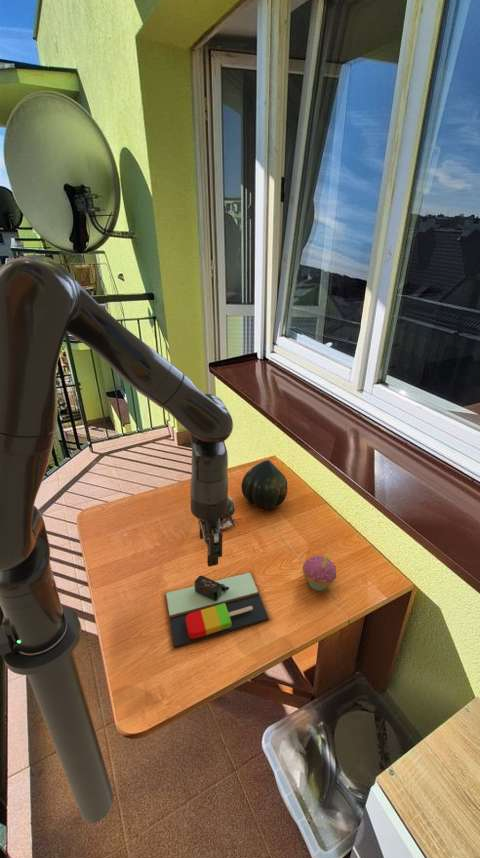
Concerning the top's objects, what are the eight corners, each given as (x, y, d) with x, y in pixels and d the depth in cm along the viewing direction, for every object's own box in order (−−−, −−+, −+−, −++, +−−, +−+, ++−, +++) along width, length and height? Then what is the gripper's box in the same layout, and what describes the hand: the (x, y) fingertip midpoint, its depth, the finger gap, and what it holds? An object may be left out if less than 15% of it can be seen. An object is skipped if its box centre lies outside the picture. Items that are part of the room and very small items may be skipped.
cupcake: (340, 589, 96) (348, 554, 90) (312, 602, 92) (319, 566, 86) (321, 565, 102) (327, 532, 97) (294, 576, 98) (299, 541, 93)
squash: (254, 510, 112) (281, 467, 113) (225, 488, 122) (251, 448, 123) (279, 521, 123) (304, 482, 124) (251, 500, 132) (274, 464, 134)
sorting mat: (174, 648, 79) (174, 645, 78) (166, 594, 90) (165, 591, 90) (268, 619, 86) (268, 617, 86) (250, 573, 98) (250, 571, 97)
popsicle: (184, 619, 84) (184, 613, 83) (248, 600, 90) (248, 595, 89) (189, 641, 80) (189, 635, 79) (256, 620, 85) (256, 614, 85)
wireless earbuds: (219, 604, 88) (219, 594, 87) (193, 592, 91) (193, 582, 89) (229, 589, 92) (229, 580, 91) (204, 578, 94) (204, 569, 93)
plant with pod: (219, 539, 108) (220, 481, 99) (199, 518, 115) (198, 462, 106) (243, 528, 113) (245, 472, 103) (222, 508, 120) (223, 454, 111)
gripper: (184, 474, 81) (186, 532, 89) (197, 516, 70) (197, 578, 77) (219, 470, 84) (217, 526, 92) (236, 510, 73) (233, 570, 80)
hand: (208, 550), depth 84 cm, fingers open, 8 cm apart
